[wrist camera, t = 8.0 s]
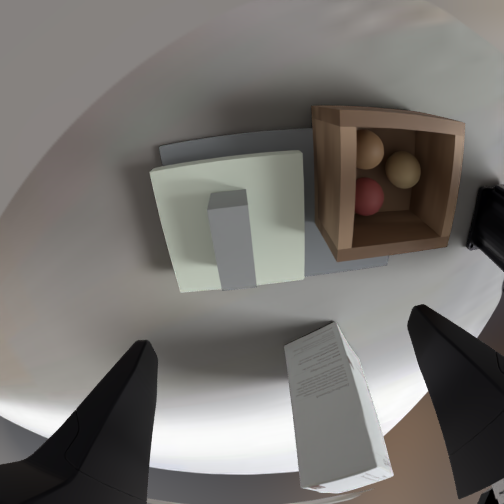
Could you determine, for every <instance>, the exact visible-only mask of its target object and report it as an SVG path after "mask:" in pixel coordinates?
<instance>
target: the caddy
mask: <svg viewBox="0 0 504 504" xmlns="http://www.w3.org/2000/svg"><path fill="white" fill-rule="evenodd" d="M311 111H312V128H313V151H314V189H315V224H316V226H317V228H318V230H319V231H320V233H321V235H322V237H323V238H324V240H325V242H326V244H327V245H328V247H329V249H330V251H331V253H332V254H333V256H334V258H335V260H336V262H343V261H351V260H358V259H366V258H373V257H381V256H388V255H395V254H402V253H409V252H416V251H423V250H430V249H436V248H443V247H447V245H448V241H449V236H450V232H451V228H452V223H453V219H454V214H455V208H456V203H457V197H458V191H459V185H460V178H461V170H462V161H463V150H464V136H465V123H463V122H459V121H456V120H452V119H448V118H444V117H440V116H435V115H431V114H426V113H422V112H416V111H408V110H399V109H389V108H376V107H360V106H311Z"/></svg>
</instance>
